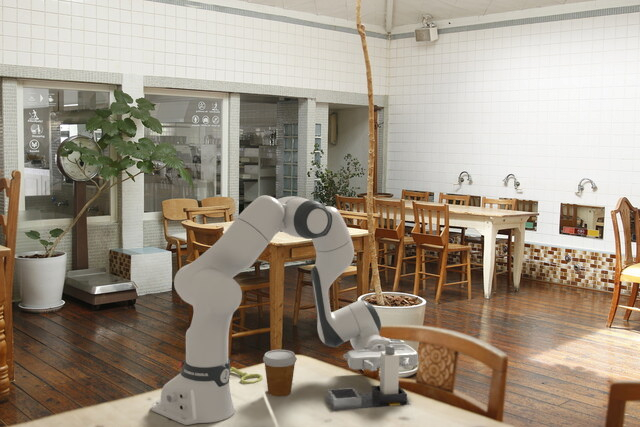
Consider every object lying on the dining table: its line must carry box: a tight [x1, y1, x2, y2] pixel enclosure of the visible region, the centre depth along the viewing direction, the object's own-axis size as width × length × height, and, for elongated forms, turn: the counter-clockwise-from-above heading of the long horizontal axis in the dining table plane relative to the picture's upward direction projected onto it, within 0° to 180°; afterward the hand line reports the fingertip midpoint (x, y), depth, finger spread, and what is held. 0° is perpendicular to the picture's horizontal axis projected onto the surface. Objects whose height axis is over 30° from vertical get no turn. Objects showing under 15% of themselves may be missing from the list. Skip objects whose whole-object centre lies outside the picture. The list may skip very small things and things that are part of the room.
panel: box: [323, 384, 411, 412], centre depth 191 cm, size 22×10×4 cm, turn 103°
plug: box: [379, 345, 400, 395], centre depth 192 cm, size 4×4×15 cm
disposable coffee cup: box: [262, 349, 298, 397], centre depth 196 cm, size 10×10×12 cm
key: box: [230, 366, 263, 385], centre depth 210 cm, size 7×12×2 cm, turn 64°
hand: (390, 367), depth 191 cm, fingers open, 8 cm apart
